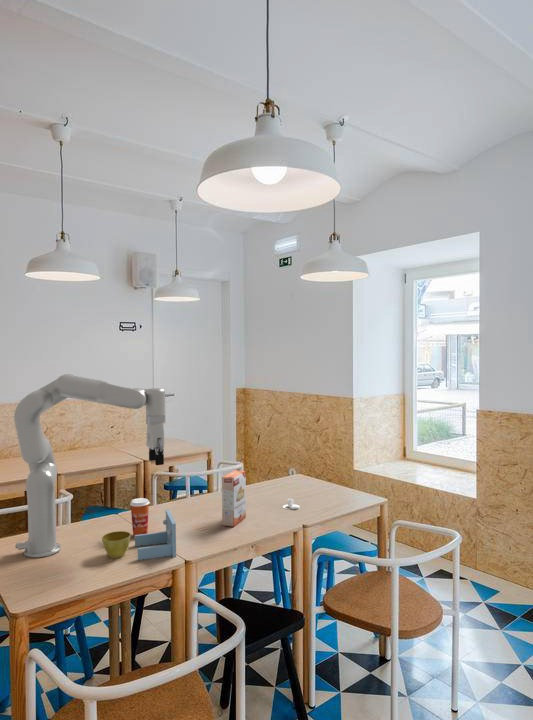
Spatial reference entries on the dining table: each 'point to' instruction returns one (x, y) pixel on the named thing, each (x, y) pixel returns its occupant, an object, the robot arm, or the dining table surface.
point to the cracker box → (233, 498)
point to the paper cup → (139, 515)
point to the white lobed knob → (291, 504)
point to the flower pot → (116, 543)
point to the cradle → (158, 541)
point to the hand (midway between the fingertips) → (156, 462)
